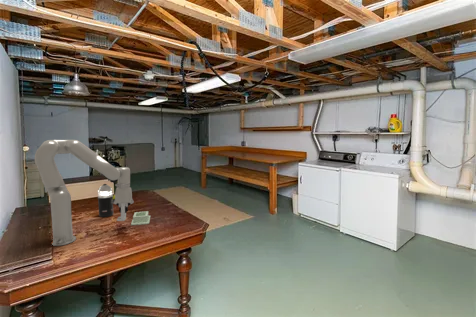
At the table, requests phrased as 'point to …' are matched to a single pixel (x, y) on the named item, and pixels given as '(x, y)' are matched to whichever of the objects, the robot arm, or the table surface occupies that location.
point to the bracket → (122, 213)
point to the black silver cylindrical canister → (105, 201)
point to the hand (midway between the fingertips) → (123, 212)
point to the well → (140, 218)
